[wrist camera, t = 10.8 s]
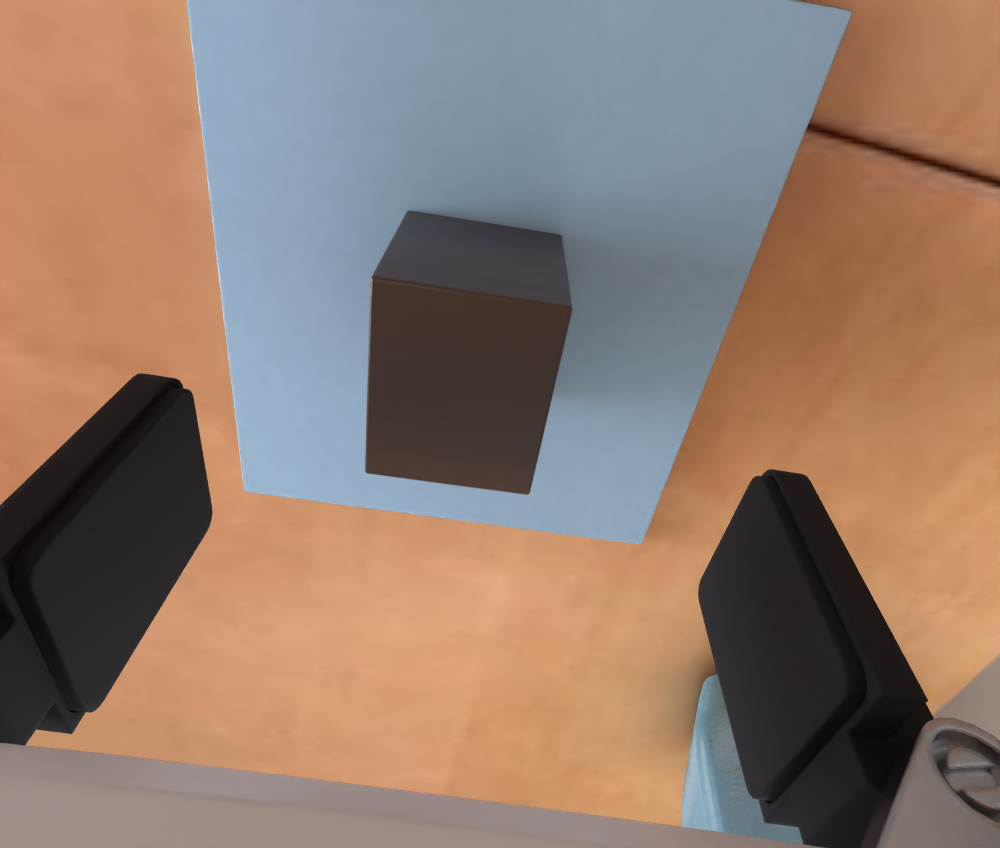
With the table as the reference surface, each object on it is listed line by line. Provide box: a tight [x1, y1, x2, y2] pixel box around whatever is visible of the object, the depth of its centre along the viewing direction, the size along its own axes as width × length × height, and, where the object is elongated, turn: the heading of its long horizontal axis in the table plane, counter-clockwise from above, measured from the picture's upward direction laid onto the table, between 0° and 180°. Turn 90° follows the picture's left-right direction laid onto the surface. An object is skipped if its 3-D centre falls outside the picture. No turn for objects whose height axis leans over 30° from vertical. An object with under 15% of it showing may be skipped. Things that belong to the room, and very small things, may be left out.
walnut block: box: [365, 211, 573, 495], centre depth 15 cm, size 5×4×4 cm
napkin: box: [187, 0, 852, 544], centre depth 17 cm, size 16×14×1 cm
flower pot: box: [681, 675, 804, 845], centre depth 24 cm, size 9×9×9 cm
